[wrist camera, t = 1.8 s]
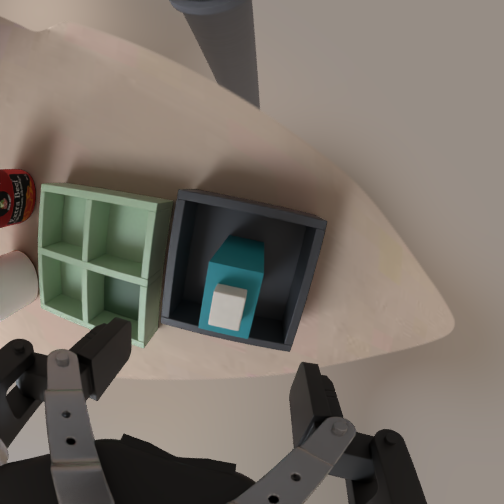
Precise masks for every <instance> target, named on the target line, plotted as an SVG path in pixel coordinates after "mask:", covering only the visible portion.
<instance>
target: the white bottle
mask: <svg viewBox="0 0 504 504" xmlns="http://www.w3.org/2000/svg"><path fill="white" fill-rule="evenodd" d="M37 294H38V278H37V274H36V270H35V268H34V266H33V264H32V262H31V261H30V259H29V258H28V257H27V256H26V255H25V254H24V253H22V252H20V251H13V252H10V253H7V254H4V255H1V256H0V322H1V321H3V320H4V319H6V318H7V317H9V316H11V315H12V314H14V313H16V312H17V311H19V310H20V309H22V308H24V307H25V306H27V305H29V304H30V303H32V302H33V301H34V300H35V298H36V296H37Z"/></svg>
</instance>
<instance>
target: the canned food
mask: <svg viewBox="0 0 504 504" xmlns="http://www.w3.org/2000/svg"><path fill="white" fill-rule="evenodd" d="M35 200H36V191H35V185H34V182H33V179H32V177H31V176H30V174H28V173H27V172H25V171H23V170H20V169H1V170H0V228H2V227H6V226H10V225H14V224H18V223H21V222H24V221H25V220H26V219H28V218H29V217H30V215H31V214H32V212H33V209H34V206H35Z"/></svg>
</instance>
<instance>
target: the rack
mask: <svg viewBox="0 0 504 504" xmlns="http://www.w3.org/2000/svg"><path fill="white" fill-rule="evenodd" d="M172 207H173V201H172V200H167V199H161V198H156V197H150V196H145V195H139V194H133V193H127V192H121V191H115V190H109V189H103V188H97V187H91V186H84V185H77V184H71V183H46V184H42V185H41V195H40V207H39V225H38V271H39V288H40V300H41V308H42V309H45V310H47V311H49V312H51V313H53V314H55V315H58V316H60V317H62V318H64V319H67V320H69V321H71V322H74V323H76V324H78V325H81V326H83V327H86V328H88V329H91V330H92V329H93V328H94V327H95V326H98V325H100V324H103V323H106V324H108V323H109V322H110V321H111V320H112V319H114V318H115V317H119V318H122V319H125V320H128V321H130V322H131V324H132V334H131V344H132V345H135V346H138V347H141V348H145V346H146V345H147V343H148V342H149V341H150V339H151V338H152V336H153V335H154V334H155V332H156V331H157V330H158V319H159V307H160V296H161V287H162V277H163V269H164V261H165V253H166V246H167V239H168V232H169V225H170V219H171V213H172Z"/></svg>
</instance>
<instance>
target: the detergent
mask: <svg viewBox="0 0 504 504" xmlns="http://www.w3.org/2000/svg"><path fill="white" fill-rule="evenodd" d="M263 276H264V242H260V241H255V240H251V239H246V238H241V237H237V236H232V235H229V236H228V237H227V239H226V240H225V241H224V243H223V244H222V245H221V247H220V248H219V249H218V251H217V252H216V253H215V254H214V256H213V257H212V258H211V260H210V261H209V265H208V271H207V276H206V282H205V288H204V294H203V300H202V307H201V313H200V320H199V326H198V328H201V329H205V330H209V331H213V332H217V333H222V334H226V335H231V336H235V337H240V338H245V339H248V338H249V334H250V330H251V326H252V322H253V318H254V314H255V309H256V305H257V301H258V297H259V293H260V289H261V284H262V280H263Z"/></svg>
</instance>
